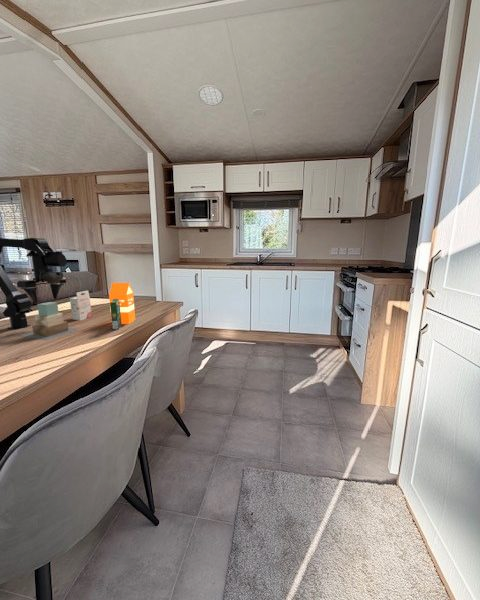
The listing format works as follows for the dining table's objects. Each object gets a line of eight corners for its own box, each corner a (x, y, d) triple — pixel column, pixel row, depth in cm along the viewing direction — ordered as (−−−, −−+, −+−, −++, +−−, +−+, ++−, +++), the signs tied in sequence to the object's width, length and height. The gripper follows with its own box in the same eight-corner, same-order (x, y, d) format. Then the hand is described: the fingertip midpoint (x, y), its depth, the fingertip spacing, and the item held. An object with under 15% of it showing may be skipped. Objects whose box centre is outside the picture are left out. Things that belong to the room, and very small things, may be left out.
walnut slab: (33, 334, 114) (32, 325, 114) (53, 328, 123) (52, 320, 122) (49, 336, 112) (47, 327, 111) (68, 330, 120) (67, 321, 119)
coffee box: (118, 329, 123) (116, 301, 120) (112, 330, 122) (109, 302, 119) (122, 325, 130) (119, 298, 128) (115, 325, 130) (113, 298, 127)
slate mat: (19, 337, 112) (18, 336, 112) (55, 326, 127) (55, 325, 127) (47, 341, 108) (46, 340, 107) (81, 329, 123) (81, 328, 122)
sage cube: (38, 315, 114) (37, 304, 113) (50, 313, 119) (48, 302, 118) (47, 316, 113) (45, 304, 112) (58, 313, 117) (57, 302, 116)
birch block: (36, 325, 114) (34, 316, 114) (51, 321, 121) (50, 312, 120) (48, 326, 112) (46, 317, 112) (63, 322, 119) (62, 313, 118)
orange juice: (129, 324, 132) (125, 283, 128) (111, 324, 132) (107, 283, 128) (135, 320, 139) (132, 281, 136) (118, 319, 140) (115, 281, 136)
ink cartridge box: (84, 316, 147) (81, 289, 144) (92, 316, 146) (89, 290, 143) (71, 320, 139) (68, 292, 136) (80, 320, 138) (76, 292, 135)
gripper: (32, 268, 109) (38, 305, 112) (73, 265, 127) (76, 298, 130) (13, 267, 112) (19, 304, 115) (55, 265, 130) (59, 296, 133)
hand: (45, 300), depth 123 cm, fingers open, 9 cm apart
